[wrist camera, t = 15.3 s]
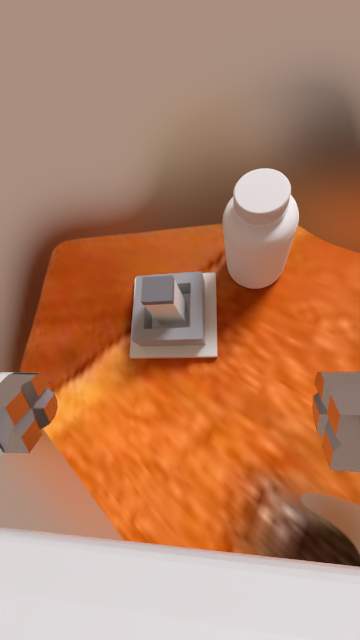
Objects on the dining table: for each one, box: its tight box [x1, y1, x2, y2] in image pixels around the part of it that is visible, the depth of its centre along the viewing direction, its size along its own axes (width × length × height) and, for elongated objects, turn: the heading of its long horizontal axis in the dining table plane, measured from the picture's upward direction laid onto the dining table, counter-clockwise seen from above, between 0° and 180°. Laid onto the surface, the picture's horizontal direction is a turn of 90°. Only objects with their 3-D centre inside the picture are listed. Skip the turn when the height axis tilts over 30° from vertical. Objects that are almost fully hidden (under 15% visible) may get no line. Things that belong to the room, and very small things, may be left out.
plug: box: [141, 275, 186, 325], centre depth 36 cm, size 4×3×9 cm
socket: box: [129, 272, 218, 359], centre depth 39 cm, size 12×12×4 cm
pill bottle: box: [223, 169, 299, 289], centre depth 34 cm, size 8×8×15 cm
